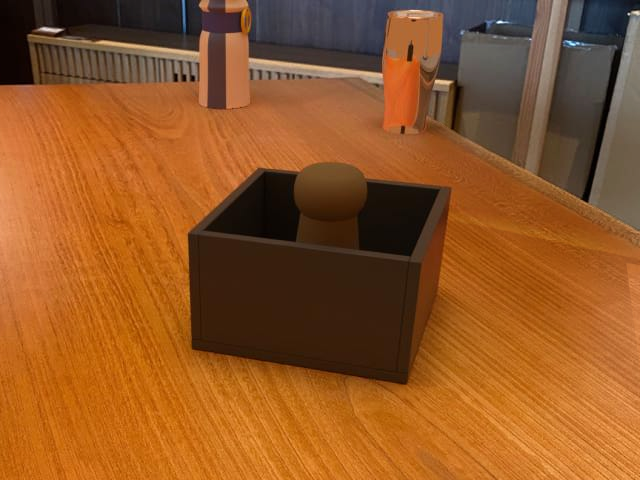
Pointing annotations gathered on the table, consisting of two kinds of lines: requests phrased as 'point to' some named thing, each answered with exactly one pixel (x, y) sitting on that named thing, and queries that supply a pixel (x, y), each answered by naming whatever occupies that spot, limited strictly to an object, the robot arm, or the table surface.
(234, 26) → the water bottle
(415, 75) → the beer glass
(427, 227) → the bin
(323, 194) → the cork
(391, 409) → the table surface
